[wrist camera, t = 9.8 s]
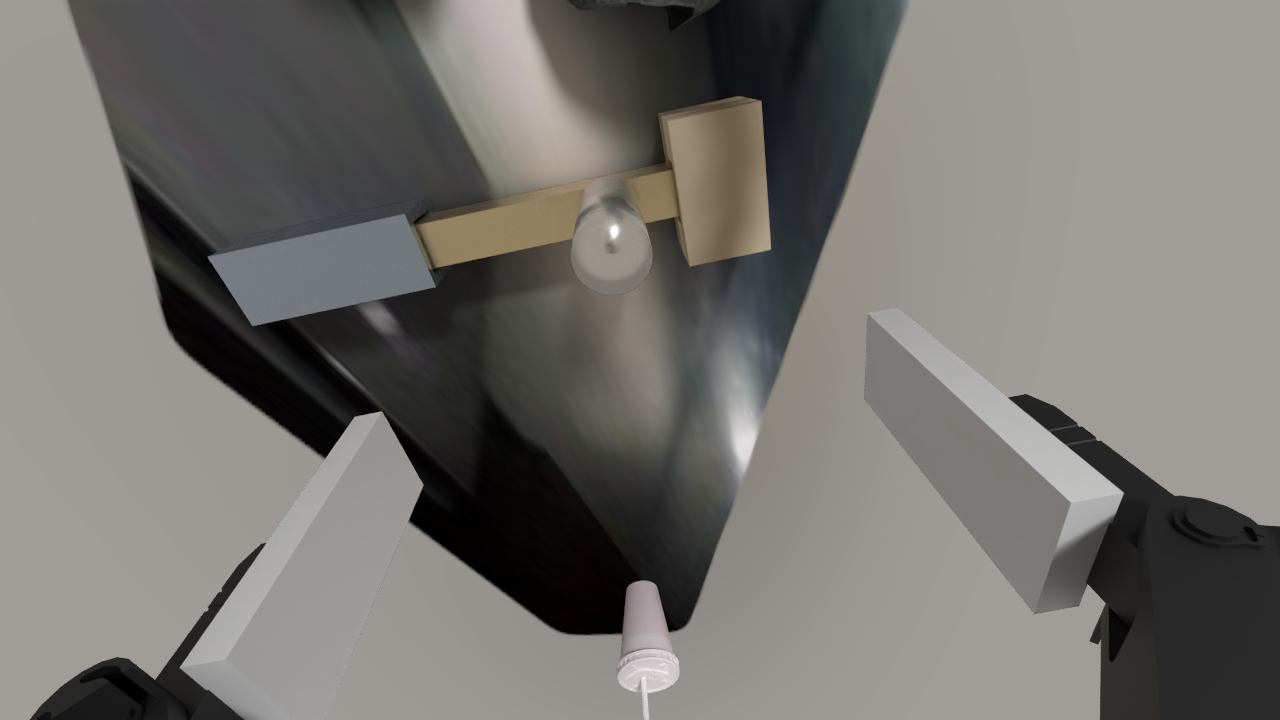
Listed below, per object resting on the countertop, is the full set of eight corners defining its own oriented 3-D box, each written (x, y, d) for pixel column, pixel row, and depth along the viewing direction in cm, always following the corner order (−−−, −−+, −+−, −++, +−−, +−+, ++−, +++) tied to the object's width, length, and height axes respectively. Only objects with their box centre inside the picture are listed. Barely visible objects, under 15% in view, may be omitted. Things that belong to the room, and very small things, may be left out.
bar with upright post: (409, 268, 38) (328, 355, 26) (385, 215, 36) (287, 284, 24) (716, 203, 37) (766, 263, 26) (709, 144, 35) (761, 182, 24)
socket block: (678, 241, 39) (689, 266, 34) (658, 113, 35) (667, 121, 30) (749, 226, 39) (771, 249, 34) (738, 95, 34) (761, 101, 29)
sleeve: (291, 297, 39) (252, 325, 35) (253, 234, 37) (207, 256, 32) (454, 262, 39) (435, 287, 34) (428, 196, 36) (404, 214, 32)
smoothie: (611, 576, 58) (614, 710, 46) (667, 569, 58) (685, 702, 46) (617, 610, 61) (621, 745, 49) (670, 604, 61) (688, 737, 49)
